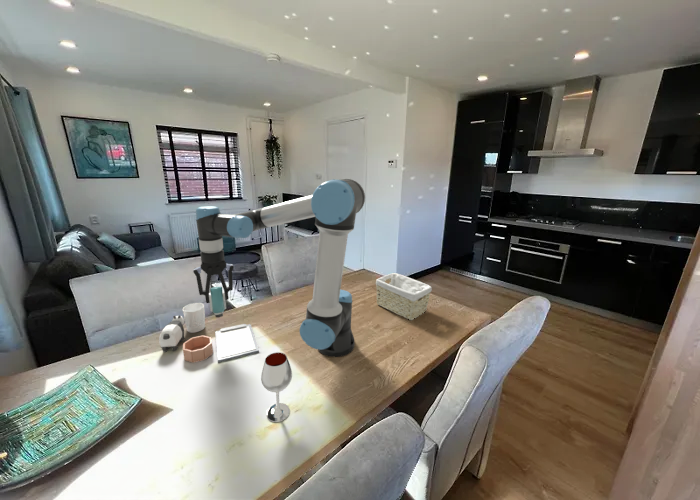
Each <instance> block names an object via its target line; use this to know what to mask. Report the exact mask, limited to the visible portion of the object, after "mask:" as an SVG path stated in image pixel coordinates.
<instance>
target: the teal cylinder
mask: <svg viewBox="0 0 700 500" xmlns="http://www.w3.org/2000/svg"><path fill="white" fill-rule="evenodd" d="M222 291H223V286H214V287H213V286H212V287H210V288H209V293H211V299H212V309H213V311H212V313H213V315H214V316H215V317H214V318H222V317H224V311H225V309H224V301H223V292H222Z"/></svg>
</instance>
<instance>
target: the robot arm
mask: <svg viewBox="0 0 700 500" xmlns="http://www.w3.org/2000/svg"><path fill="white" fill-rule="evenodd" d="M365 201H366V194H365V190H364V188H363V187H362V185H361V184H360V183H359V182H357V181H356V180H353V179H351V178H350V179H349V178H345V179H341V178H340V179H334V178H333V179H329V180H326V181H325V182H322V183H321V184H320V185H318V186H317V187H316V188H315V189H314V191H313V193H312V194H310V195H306V196H302V197H298V198H295V199H291V200H287V201H284V202H280V203H276V204H273V205H269V206H265V207H261V208H257V209H253V210H248V211H244V212H238V213H234V214H227V213H226V214H224V213H221V211H220V210H221V209H220V207H218V206H215V205H214V206H211V205H209V206H207V205H205V206H199V207H197V208H196V209H195V222H196V228H197V233H198V234H197V236H198V244H199V245H198V246H199V250H200V254H199V255H200V262H201V263H200V266H198V267H194V268H193V271H192V273H193V274H194V275H195V276H196V277H195V278H196V284H197V288H198V289H197V290H198V294H199V295H200V296H205V298H204V299H205V303H206V304H209V309H210V313H213V309H212V299H211V292H210V288H211V279H212V276H215V275H216V276H218V278H219V281H220V283H221V287H222V292H223V301H224V310H227V303H226V301H229V298H230V297H229V292H231V291H233V290H234V286H233V285H234V282H233V271H234V264H233V263H227V261H226V260H225V252H224V250H223V249H224V241H223V237H228V238H233V239H246V238H249V237H250V235H252V233H253V232H256V231H259V230H263V229H267V228H271V227H276V226H280V225H285V224H289V223H293V222H297V221H302V220H306V219H311V218H315V220H314V225H315V226H316V228H317V229H318V230H319V233H318V234H319V235H318V243H317V253H316V262H315V270H314V271H315V272H314V281H313V282H314V283H313V291H312V299H311V300H310V301H308V302H307V305H306V313H305V319H304V320H302V323H301V324H300V326H299V331H298V332H299V335H300V336H299V337H301V340H302V341H303V342H304V343H305V344H306V345H307V346H309V347H310V348H312V349H314V350H317V352H319V353H321V354H322V355H324V356H326V357H330V358H331V357H332V358H340V357H341V358H342V357H344V356H347V355H349V354H351V353H352V352H353V351H354V348H355V337H354V334H353V333H354V332H353V331H352V330H353V329H352V315H353V312H352V309H353V295H352V293H350V292H349V291H347V290H344V289H341V287H342V282H343V281H342V280H343V273H344V268H345V267H344V266H345V259H346V258H345V257H346V251H347V244H348V238H349V237H348V236H349V234H350V233H351V232H352V231H354V230H355V222H356V216H357V213H359V212H361V210H362V209H363V207H364V205H365ZM225 268H226V270H227V272H228V273H227V274H228V275H227V276H228V278H227V279H228V286H227V284H226V281H225V278H224V274H223V272H224V270H225ZM202 271H203V272H204V273H205V274H206V279H205V280H206V281H205V289H204V288H203V283H202V278H201V277H202V276H201V273H202Z"/></svg>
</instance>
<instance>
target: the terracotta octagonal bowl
mask: <svg viewBox="0 0 700 500" xmlns="http://www.w3.org/2000/svg"><path fill="white" fill-rule="evenodd" d="M182 352H183V360H184V361H186V362H189V363H197V362H201V361H205V360H206V359H208V358H209V357H210V356H212V355H213V354H214V348H213V340H212V337H211V336H208V335H205V334H204V335H198V336H193V337H191V338H189V339H188V340H186V341H185V342H183V344H182Z"/></svg>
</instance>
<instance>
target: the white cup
mask: <svg viewBox="0 0 700 500" xmlns="http://www.w3.org/2000/svg"><path fill="white" fill-rule="evenodd" d="M205 313H206V312H205V304H204V303H203V302H194V303H189V304H186V305H185V306H183V308H182V314H183V318H184V319H185V322H184V324H185V327H186V330H187V332H188V333H192V334H193V333H199V332H201V331H203V330H204V329H205V327H206V315H205Z"/></svg>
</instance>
